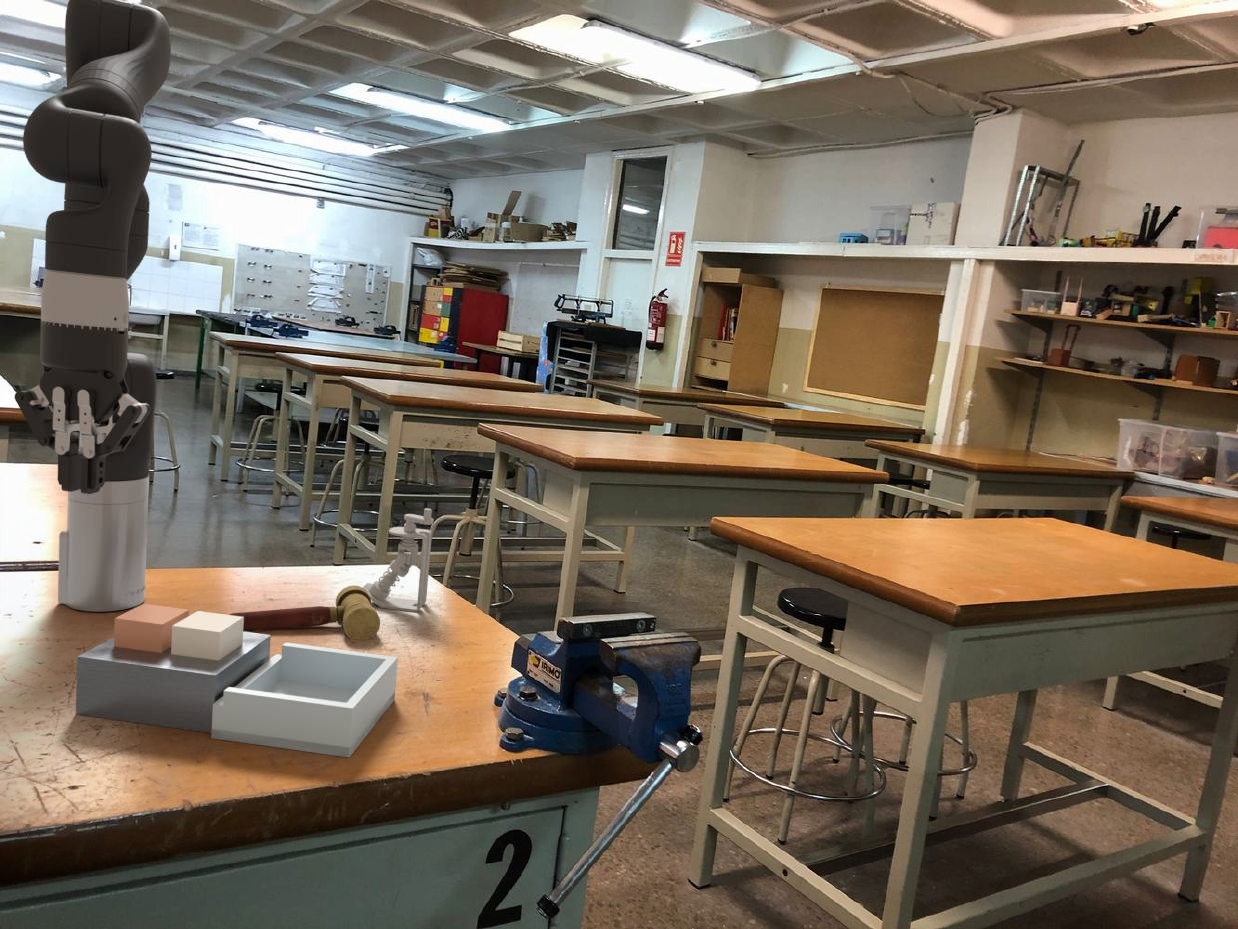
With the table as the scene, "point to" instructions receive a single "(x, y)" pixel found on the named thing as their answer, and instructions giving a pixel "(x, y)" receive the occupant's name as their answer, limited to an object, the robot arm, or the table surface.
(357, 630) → the gavel
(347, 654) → the box
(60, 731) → the table surface
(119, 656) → the grey metallic box
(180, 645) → the tile cream
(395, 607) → the clamp
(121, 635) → the tile terracotta
